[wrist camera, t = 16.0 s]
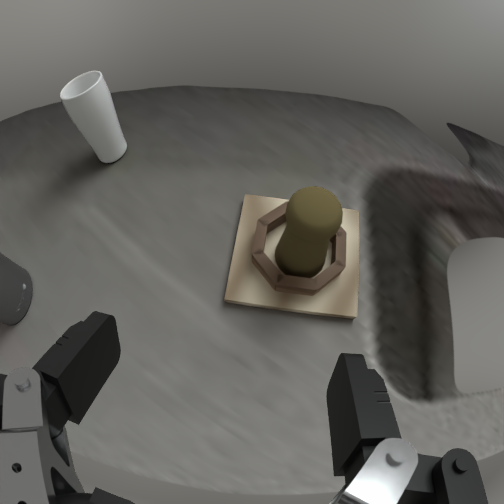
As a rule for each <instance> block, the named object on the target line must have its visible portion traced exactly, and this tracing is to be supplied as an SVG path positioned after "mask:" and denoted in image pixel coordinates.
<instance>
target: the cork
mask: <svg viewBox="0 0 504 504" xmlns="http://www.w3.org/2000/svg"><path fill="white" fill-rule="evenodd" d="M285 216H286V222H287V226H286V228H285V230H284V232H283V234H282V236H281V238H280V240H279V242H278V244H277V246H276V250H275V260H276V263H277V265H278V267H279V269H280V270H281V271H282V272H283V273H284V274H285V275H290V276H297V277H304V278H312V277H314V276H316V275H317V274H318V273H319V272H320V271H321V270H322V268H323V266H324V264H325V260H326V255H327V251H328V246H329V241H330V238H332V237H333V236H334V235H335V234H336V233H337V232H338V230H339V228H340V226H341V224H342V218H343V211H342V207H341V204H340V202H339V201H338V199H337V198H336V196H335V195H334V194H332V193H331V192H330V191H328V190H326V189H324V188H321V187H316V186H312V187H306V188H303V189H300V190H298V191H297V192H296V193H294V194H293V195H292V197H291V198H290V200H289V201H288V203H287V207H286V213H285Z"/></svg>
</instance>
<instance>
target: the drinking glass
mask: <svg viewBox="0 0 504 504" xmlns="http://www.w3.org/2000/svg"><path fill="white" fill-rule="evenodd" d="M60 98H61V101H62V103H63V105H64V107H65V109H66V111H67V113H68V115H69V116H70V118H71V120H72V121H73V122H74V124H75V125H76V127H77V128H78V130H79V131H80V132H81V134H82V135H83V136H84V138H85V139H86V141H87V142H88V143H89V145H90V146H91V148H92V149H93V150H94V152H95V153H96V155H97V157H98V158H99V160H100V161H102V162H104V163H111V162H114V161H116V160H118V159H119V158H121V157H122V156H123V155H124V153H125V151H126V149H127V143H126V141H125V138H124V136H123V133H122V130H121V127H120V124H119V121H118V118H117V114H116V111H115V108H114V104H113V101H112V98H111V94H110V92H109V89H108V87H107V84H106V82H105V79H104V77H103V75H102V73H101V72H99V71H90V72H87V73H84V74H82V75H80V76H78V77H76V78H74V79H73V80H71V81H70V82H69V83H68V84H67V85H66V86H65V87H64V88H63V89H62V91H61V93H60Z"/></svg>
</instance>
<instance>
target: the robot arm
mask: <svg viewBox="0 0 504 504" xmlns="http://www.w3.org/2000/svg"><path fill="white" fill-rule="evenodd" d="M31 297H32V282H31V278H30V276H29V274H28V272H27V271H26V270H25V269H23V268H22V267H20V266H19V265H17V264H16V263H14V262H13V261H11V260H10V259H9V258H7V257H6V256H4V255H3V254H2V253H0V322H2V323H4V324H8V325H13V324H16V323H17V322H19V321H20V320H21V319H22V318H23V317H24V315H25V314H26V312H27V310H28V308H29V305H30V302H31ZM120 352H121V349H120V343H119V337H118V332H117V326H116V320H115V318H114V316H112V315H108V314H104V313H100V312H97V311H95V312H93V313H92V314H91V315H90V316H89V317H88V318H87V319H86V320H85V321H84V322H83V321H80V322H78V323H77V324H75V325H73V326H71V327H70V328H69V329H68V330H67V331H66V332H65V333H64V334H63V335H62V337H60V338H59V339H58V340H57V341H56V344H54V345H53V346H52V347H51V348H50V349H49V350H48V351H47V352H46V353H45V354H44V355H43V357H42V358H41V359H40V360H39V361H38V362H37V363H36V364H35V366H34V367H33V368H32V369H31V368H27V367H22V368H18V369H15V370H13V371H12V372H11V373H9V374H8V375H4V374H0V504H134V503H133V502H131V501H129V500H126V499H123V498H121V497H118V496H116V495H113V494H111V493H108V492H106V491H103V490H101V489H99V488H95V490H94V492H93V494H90V493H85V492H84V489H83V487H82V485H81V483H80V481H79V479H78V477H77V475H76V472H75V469H74V465H73V461H72V456H71V452H70V447H69V442H68V437H67V431H66V428H65V426H64V425H65V424H66V422H67V421H68V420H69V421H72V422H74V423H76V424H78V425H79V424H80V422H81V420H82V419H83V417H84V415H85V414H86V412H87V411H88V409H89V407H90V406H91V404H92V403H93V401H94V399H95V398H96V396H97V395H98V393H99V391H100V390H101V388H102V387H103V385H104V384H105V382H106V380H107V379H108V377H109V376H110V374H111V373H112V371H113V370H114V368H115V367H116V365H117V363H118V361H119V358H120ZM327 407H328V416H329V426H330V436H331V446H332V458H333V470H334V476H345V483H346V484H345V485H344V486H343V487H342V489H341V490H340V491H339V492H338V494H337V495H336V496H335V497H334V499H333V500H332V501H331V502H330V503H329V504H488V501H487V497H486V493H485V489H484V486H483V482H482V479H481V475H480V472H479V468H478V465H477V462H476V460H475V458H474V456H473V455H472V454H471V453H470V452H468V451H467V450H464V449H460V448H456V449H452V450H450V451H448V452H447V453H446V454H445V455H444V456H443V457H442V458H441V457H434V456H427V455H422V454H418V453H417V451H416V449H415V448H414V447H413V446H412V445H411V444H410V443H409V442H407V441H406V440H403V439H402V438H401V435H400V432H399V428H398V425H397V421H396V418H395V415H394V411H393V408H392V405H391V403H390V398H389V395H388V393H387V389H386V386H385V383H384V380H383V379H382V377H381V376H380V375H379V374H378V373H377V371H376V370H375V369H368V368H367V365H366V362H365V359H364V356H363V355H362V354H349V353H341V354H340V356H339V358H338V360H337V363H336V366H335V369H334V371H333V374H332V377H331V379H330V382H329V385H328V389H327Z"/></svg>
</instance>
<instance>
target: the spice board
mask: <svg viewBox="0 0 504 504" xmlns="http://www.w3.org/2000/svg"><path fill="white" fill-rule="evenodd" d="M288 201H289V200H286V199H278V198H271V197H263V196H255V195H247V194H245V198H244V202H243V207H242V212H241V217H240V222H239V227H238V232H237V237H236V242H235V247H234V252H233V257H232V262H231V267H230V272H229V277H228V283H227V288H226V293H225V298H224V300H225V302H228V303H235V304H241V305H248V306H254V307H261V308H268V309H275V310H283V311H290V312H298V313H306V314H314V315H322V316H331V317H340V318H350V319H354V318H356V317H357V307H358V283H359V211H356V210H350V209H344V208H342V211H343V218H342V224H341V226H340V228H339V230H338V232H337V233H336V234H335V235H334V236H333V237H332V238H330V241H329V246H328V251H327V255H326V260H325V264H324V266H323V268H322V270H321V271H320V272H319V273H318V274H317V275H316V276H314V277H312V278H304V277H297V276H290V275H285V274H284V273H283V272H282V271H281V270H280V269H279V267H278V265H277V263H276V260H275V250H276V246H277V244H278V242H279V240H280V238H281V236H282V234H283V232H284V230H285V228H286V226H287V222H286V216H285V213H286V207H287V203H288Z"/></svg>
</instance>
